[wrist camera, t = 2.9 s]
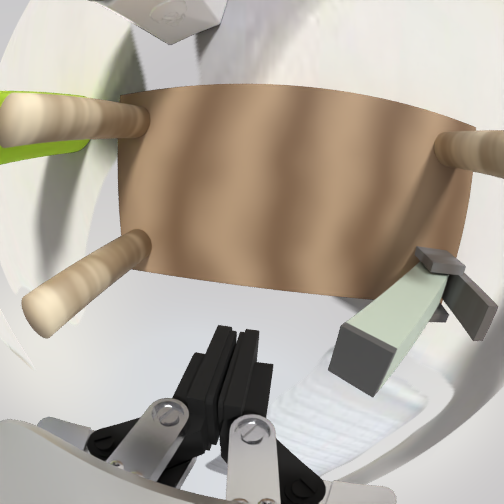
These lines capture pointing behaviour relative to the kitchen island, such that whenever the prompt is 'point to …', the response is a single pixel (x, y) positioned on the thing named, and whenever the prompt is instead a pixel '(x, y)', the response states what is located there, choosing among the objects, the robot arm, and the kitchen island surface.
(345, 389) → the kitchen island surface
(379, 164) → the stool seat
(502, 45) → the kitchen island surface
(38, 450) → the robot arm
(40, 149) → the soap dispenser
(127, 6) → the jar
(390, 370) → the hinged leg
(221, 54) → the kitchen island surface
